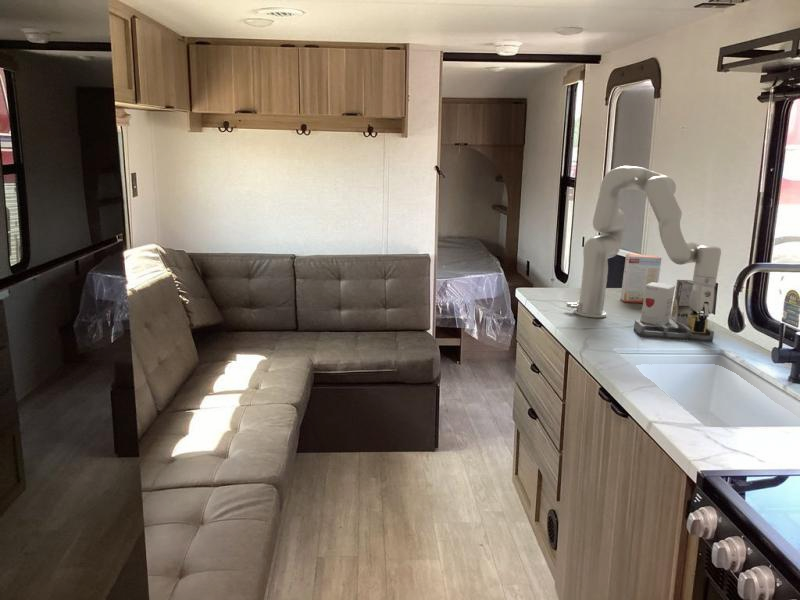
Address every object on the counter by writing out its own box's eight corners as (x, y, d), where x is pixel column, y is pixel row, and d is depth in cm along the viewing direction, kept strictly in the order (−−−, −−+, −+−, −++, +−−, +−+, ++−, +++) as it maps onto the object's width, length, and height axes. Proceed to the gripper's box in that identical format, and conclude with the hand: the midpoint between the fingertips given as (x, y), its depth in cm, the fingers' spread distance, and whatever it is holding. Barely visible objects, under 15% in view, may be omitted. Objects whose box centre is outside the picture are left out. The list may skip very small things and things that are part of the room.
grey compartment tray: (640, 336, 230) (641, 326, 229) (633, 330, 239) (635, 319, 238) (712, 342, 228) (714, 331, 227) (702, 335, 237) (704, 324, 236)
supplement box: (639, 321, 252) (644, 284, 248) (646, 317, 259) (651, 281, 255) (663, 326, 246) (669, 288, 243) (669, 322, 253) (675, 285, 250)
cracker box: (650, 301, 290) (657, 255, 285) (655, 304, 284) (662, 257, 279) (619, 299, 290) (625, 253, 285) (623, 302, 284) (630, 255, 280)
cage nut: (705, 333, 230) (708, 318, 228) (691, 332, 230) (693, 317, 229) (700, 329, 235) (703, 314, 233) (686, 328, 235) (688, 313, 234)
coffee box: (692, 325, 252) (699, 284, 248) (675, 323, 253) (681, 283, 249) (687, 319, 260) (694, 280, 256) (670, 317, 261) (676, 278, 258)
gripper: (724, 286, 220) (715, 337, 224) (706, 276, 236) (697, 324, 240) (702, 284, 220) (693, 335, 224) (685, 275, 237) (677, 322, 241)
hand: (695, 329), depth 232 cm, fingers closed on cage nut, 5 cm apart
